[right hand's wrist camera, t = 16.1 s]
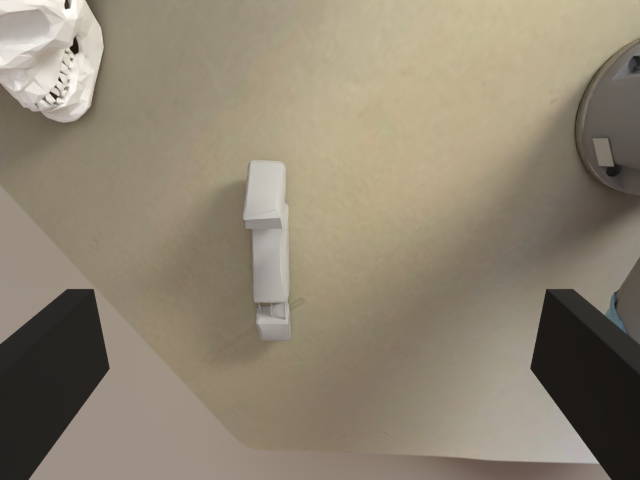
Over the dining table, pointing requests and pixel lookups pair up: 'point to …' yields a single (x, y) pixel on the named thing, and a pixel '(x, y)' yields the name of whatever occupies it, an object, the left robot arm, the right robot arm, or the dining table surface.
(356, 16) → the dining table surface
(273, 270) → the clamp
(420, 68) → the dining table surface
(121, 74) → the dining table surface
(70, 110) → the skull
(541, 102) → the dining table surface
